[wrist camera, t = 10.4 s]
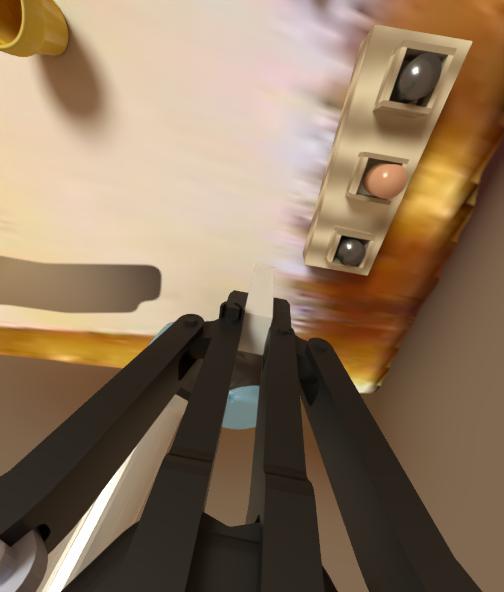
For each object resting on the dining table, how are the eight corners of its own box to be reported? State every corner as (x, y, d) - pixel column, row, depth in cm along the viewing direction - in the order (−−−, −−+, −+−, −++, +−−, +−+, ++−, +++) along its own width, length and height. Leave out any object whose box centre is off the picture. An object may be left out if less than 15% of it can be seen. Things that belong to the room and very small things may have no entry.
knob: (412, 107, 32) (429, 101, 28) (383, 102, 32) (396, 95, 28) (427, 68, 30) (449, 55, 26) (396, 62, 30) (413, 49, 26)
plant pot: (74, 88, 40) (20, 69, 31) (10, 42, 38) (-67, 9, 29) (88, 10, 35) (28, -36, 27) (16, -47, 33) (-75, -117, 24)
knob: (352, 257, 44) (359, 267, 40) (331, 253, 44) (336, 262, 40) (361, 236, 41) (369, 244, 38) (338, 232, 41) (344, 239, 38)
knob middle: (385, 196, 35) (398, 201, 31) (359, 191, 35) (368, 196, 31) (398, 166, 33) (413, 167, 29) (369, 161, 33) (381, 161, 29)
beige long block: (358, 263, 50) (373, 284, 42) (302, 253, 50) (307, 272, 42) (443, 58, 34) (495, 27, 26) (360, 44, 34) (386, 9, 26)
